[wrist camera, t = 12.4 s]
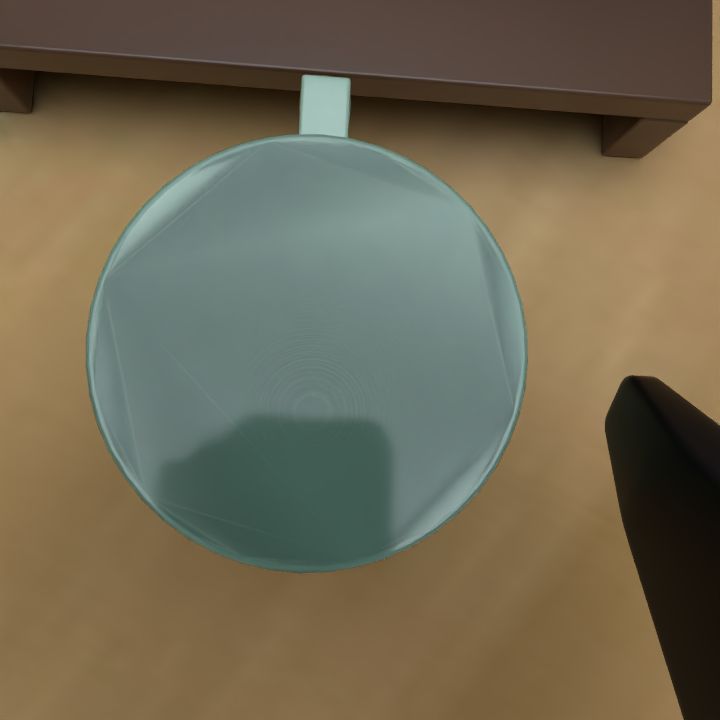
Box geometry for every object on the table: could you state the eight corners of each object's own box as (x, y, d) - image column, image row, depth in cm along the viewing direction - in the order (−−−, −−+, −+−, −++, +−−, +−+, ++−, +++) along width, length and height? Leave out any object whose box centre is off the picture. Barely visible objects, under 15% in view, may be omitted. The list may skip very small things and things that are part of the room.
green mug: (417, 496, 18) (524, 581, 9) (192, 487, 17) (65, 567, 8) (428, 205, 18) (538, 11, 9) (211, 190, 18) (113, -28, 9)
